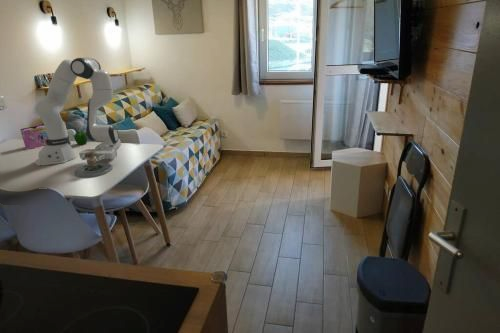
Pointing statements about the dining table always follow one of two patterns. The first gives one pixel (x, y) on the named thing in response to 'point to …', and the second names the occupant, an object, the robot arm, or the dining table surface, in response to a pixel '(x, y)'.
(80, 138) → the green shrub
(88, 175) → the grey plate
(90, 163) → the bead spool
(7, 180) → the dining table surface
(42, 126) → the gum box
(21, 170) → the dining table surface
